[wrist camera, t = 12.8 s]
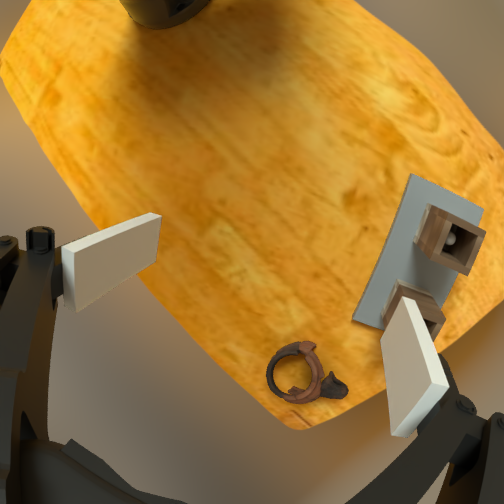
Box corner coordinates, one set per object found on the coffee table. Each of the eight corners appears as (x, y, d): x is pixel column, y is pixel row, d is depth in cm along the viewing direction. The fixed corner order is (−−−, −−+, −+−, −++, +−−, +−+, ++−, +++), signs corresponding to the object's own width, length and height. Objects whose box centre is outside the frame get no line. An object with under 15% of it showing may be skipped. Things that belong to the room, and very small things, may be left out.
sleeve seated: (427, 202, 32) (448, 212, 25) (459, 218, 32) (486, 231, 24) (412, 240, 34) (429, 259, 27) (445, 254, 33) (467, 276, 26)
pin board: (410, 173, 33) (425, 174, 27) (480, 207, 31) (504, 216, 25) (352, 315, 40) (353, 341, 34) (419, 339, 38) (429, 367, 32)
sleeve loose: (396, 278, 36) (408, 305, 28) (429, 290, 35) (446, 319, 28) (380, 312, 37) (387, 344, 30) (412, 323, 37) (424, 356, 29)
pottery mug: (275, 387, 47) (252, 396, 40) (290, 333, 48) (270, 333, 41) (345, 409, 41) (334, 424, 34) (362, 351, 43) (355, 356, 36)
